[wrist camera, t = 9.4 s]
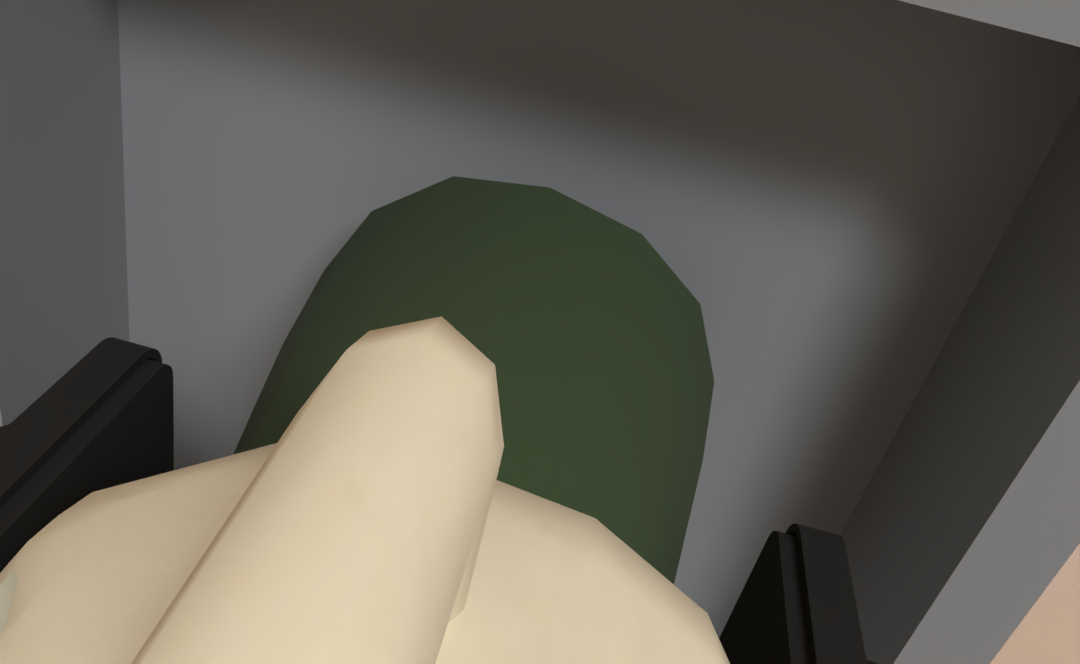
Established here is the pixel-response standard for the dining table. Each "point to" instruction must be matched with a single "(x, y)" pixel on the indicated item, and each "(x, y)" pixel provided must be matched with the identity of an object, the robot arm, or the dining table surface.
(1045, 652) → the dining table surface
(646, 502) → the character mug
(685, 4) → the grey tray
